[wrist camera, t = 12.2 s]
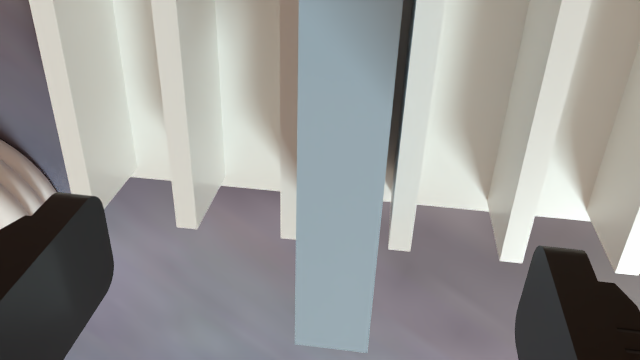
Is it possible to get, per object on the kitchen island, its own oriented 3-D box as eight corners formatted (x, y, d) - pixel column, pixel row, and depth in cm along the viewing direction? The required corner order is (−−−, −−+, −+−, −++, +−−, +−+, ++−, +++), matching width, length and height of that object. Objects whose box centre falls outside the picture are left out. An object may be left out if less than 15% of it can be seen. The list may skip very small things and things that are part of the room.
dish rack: (69, -160, 21) (-19, -157, 16) (722, -134, 19) (815, -122, 14) (122, 164, 27) (69, 226, 23) (606, 210, 25) (646, 287, 21)
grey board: (347, -95, 20) (299, -36, 11) (407, -92, 19) (406, -30, 11) (334, 166, 25) (294, 344, 16) (382, 171, 25) (367, 352, 16)
